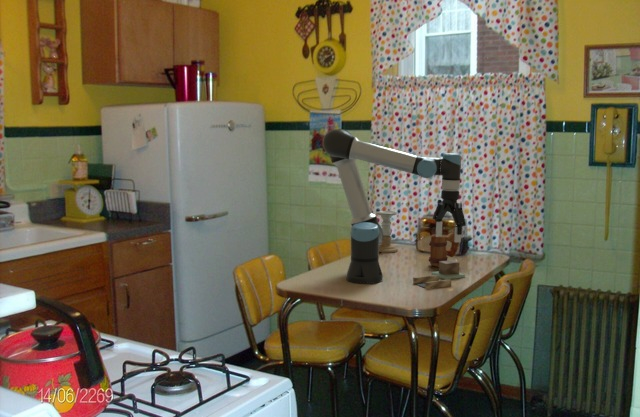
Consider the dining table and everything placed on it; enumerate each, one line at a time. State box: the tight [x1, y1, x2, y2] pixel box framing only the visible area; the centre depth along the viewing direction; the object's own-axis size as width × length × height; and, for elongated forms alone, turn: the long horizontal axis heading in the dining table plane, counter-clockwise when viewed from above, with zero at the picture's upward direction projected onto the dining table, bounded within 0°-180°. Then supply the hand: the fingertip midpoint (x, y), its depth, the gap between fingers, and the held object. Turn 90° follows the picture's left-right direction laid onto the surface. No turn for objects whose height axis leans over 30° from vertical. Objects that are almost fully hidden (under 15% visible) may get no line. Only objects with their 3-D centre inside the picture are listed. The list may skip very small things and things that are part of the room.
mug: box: [428, 232, 460, 268], centre depth 299 cm, size 15×8×15 cm, turn 105°
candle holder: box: [375, 210, 399, 254], centre depth 334 cm, size 12×12×20 cm
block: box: [438, 259, 461, 275], centre depth 279 cm, size 7×5×5 cm
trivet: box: [431, 270, 466, 280], centre depth 279 cm, size 10×10×1 cm
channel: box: [412, 274, 452, 290], centre depth 264 cm, size 12×10×2 cm
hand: (447, 239), depth 277 cm, fingers open, 13 cm apart
